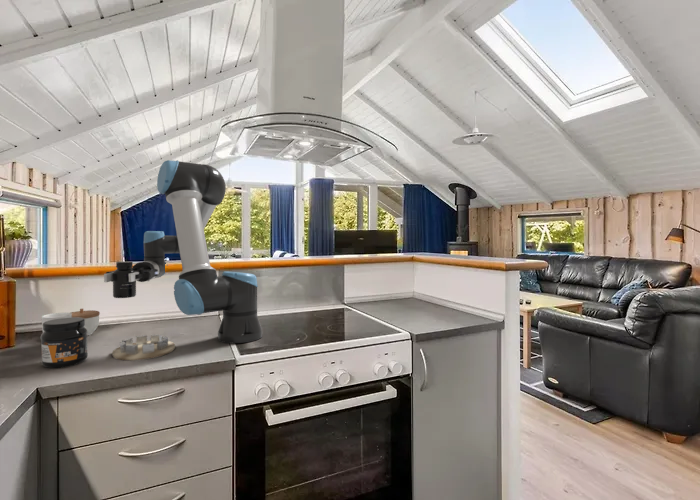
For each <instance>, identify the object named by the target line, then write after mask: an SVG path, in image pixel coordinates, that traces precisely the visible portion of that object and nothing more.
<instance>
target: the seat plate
mask: <svg viewBox="0 0 700 500" xmlns="http://www.w3.org/2000/svg"><path fill="white" fill-rule="evenodd" d="M146 344H151V340H147V343H146ZM133 345H136V342H133ZM142 345H145V344H140V345H138V354H136V355H128V354H126V353H121V351H120V346H118V347H117V348H115V349H114V350H112V358H113V359H115V360H118V361H142V360H149V359H153V358H159V357H162V356H165V355H168V354H170V353H172V352H174V350H175V349H176V345H175V342H173V341H170V340H168V346H167V348H165V349H163V350H157V343H154V352H153V353H147V354H143V353H142Z"/></svg>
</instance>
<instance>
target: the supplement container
mask: <svg viewBox="0 0 700 500" xmlns="http://www.w3.org/2000/svg"><path fill="white" fill-rule="evenodd" d="M84 326H85V319H84V318H81V317H69V318H59V319H53V320H49V321H46V322H44V323H43V330H42V333H41V335H40V342H41V365H42V366H43V367H45V368H49V369H58V368H59V369H61V367H62V368H68V367H72V366H75V365H78V364H82V363H83V362H84V361H86V360H87V358H88V357H89V355H88V354H89V353H88V335H87V329H86V328H85V327H84ZM43 331H44V332H43Z"/></svg>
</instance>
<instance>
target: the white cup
mask: <svg viewBox="0 0 700 500" xmlns="http://www.w3.org/2000/svg"><path fill="white" fill-rule="evenodd" d="M69 317H72V313H71V312H54V313H53V312H52V313H48V314H44V315H41V325H42V326H41V328H42V333H43V332H44V331H43V323H44V322H46V321H49V320H53V319H59V318H69Z"/></svg>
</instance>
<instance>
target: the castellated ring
mask: <svg viewBox="0 0 700 500" xmlns="http://www.w3.org/2000/svg"><path fill="white" fill-rule="evenodd" d="M147 337H148V336H147V334H143V335H137V336H136V335H135V343H136V345H133V343H134V342H133V338H132V337H128V338H126V339H122V340H121V341H122V342H119V347H120V351H121V353H126V354H128V355H136V354H138V345H140V344H145V345H142V353H143V354H147V353H153V352H154V343H157V350H163V349H165V348H167V346H168V341H169V338H168V337H169V336H167V335H162V334H151V335H150V341H151V344H146V343H147V341H148V338H147Z"/></svg>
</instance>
